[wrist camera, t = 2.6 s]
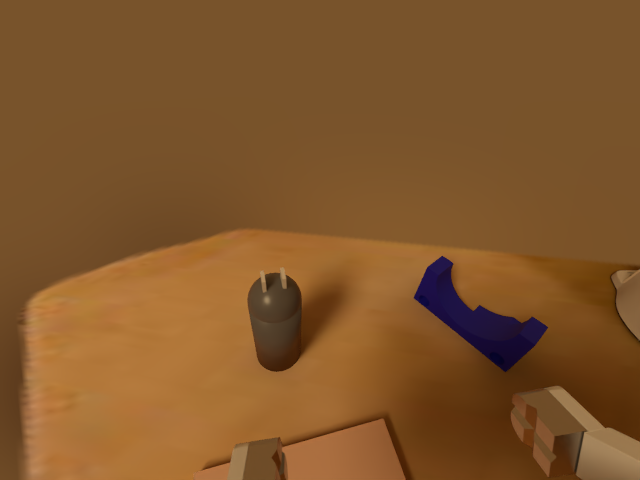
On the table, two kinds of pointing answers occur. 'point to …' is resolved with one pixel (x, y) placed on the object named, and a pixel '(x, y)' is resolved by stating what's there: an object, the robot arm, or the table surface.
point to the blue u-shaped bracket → (477, 319)
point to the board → (336, 457)
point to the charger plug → (276, 320)
